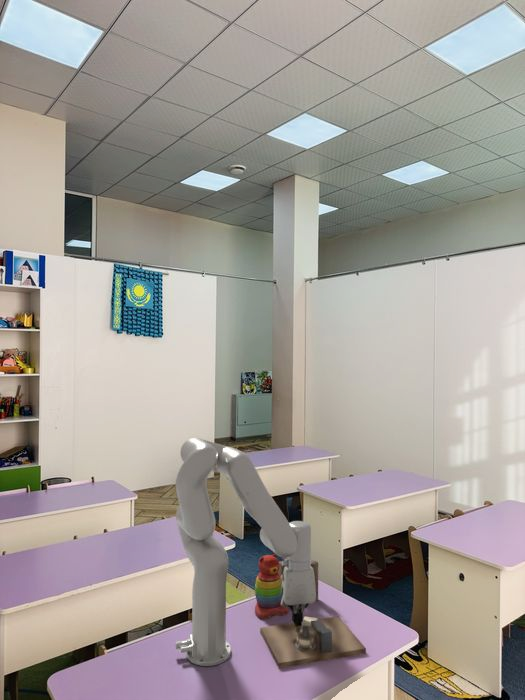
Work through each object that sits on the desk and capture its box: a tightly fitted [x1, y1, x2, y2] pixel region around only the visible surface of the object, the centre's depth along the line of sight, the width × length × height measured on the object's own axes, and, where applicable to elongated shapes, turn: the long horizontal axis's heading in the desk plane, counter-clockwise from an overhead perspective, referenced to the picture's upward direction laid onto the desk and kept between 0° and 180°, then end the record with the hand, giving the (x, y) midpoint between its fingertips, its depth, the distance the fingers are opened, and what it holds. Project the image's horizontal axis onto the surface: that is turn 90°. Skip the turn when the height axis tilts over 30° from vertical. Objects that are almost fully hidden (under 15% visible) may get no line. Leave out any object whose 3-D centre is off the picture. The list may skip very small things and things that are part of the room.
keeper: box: [311, 620, 332, 653], centre depth 143 cm, size 3×8×6 cm, turn 16°
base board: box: [259, 615, 367, 670], centre depth 146 cm, size 26×18×2 cm
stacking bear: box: [254, 553, 289, 620], centre depth 165 cm, size 11×10×18 cm
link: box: [297, 615, 318, 649], centre depth 146 cm, size 14×5×4 cm, turn 166°
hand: (297, 624), depth 152 cm, fingers closed
